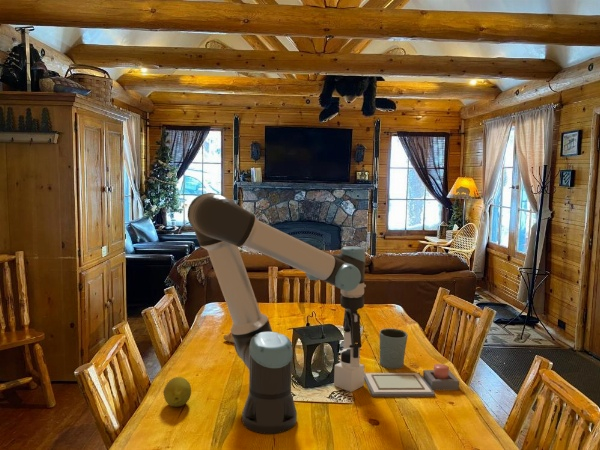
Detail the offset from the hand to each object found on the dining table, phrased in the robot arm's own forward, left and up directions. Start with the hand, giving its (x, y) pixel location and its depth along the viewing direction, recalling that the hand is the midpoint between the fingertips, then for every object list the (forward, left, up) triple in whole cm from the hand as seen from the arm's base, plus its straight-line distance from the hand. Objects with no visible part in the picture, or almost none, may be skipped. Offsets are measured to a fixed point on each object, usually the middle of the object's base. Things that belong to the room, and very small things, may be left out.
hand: (351, 358), depth 158 cm
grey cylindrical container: (+18, -19, -9) cm, 27 cm away
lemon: (-13, +53, -9) cm, 56 cm away
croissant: (+42, +35, -10) cm, 56 cm away
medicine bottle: (0, 0, -9) cm, 9 cm away
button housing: (+1, -31, -9) cm, 32 cm away
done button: (+1, -31, -7) cm, 31 cm away
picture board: (0, -16, -9) cm, 18 cm away
